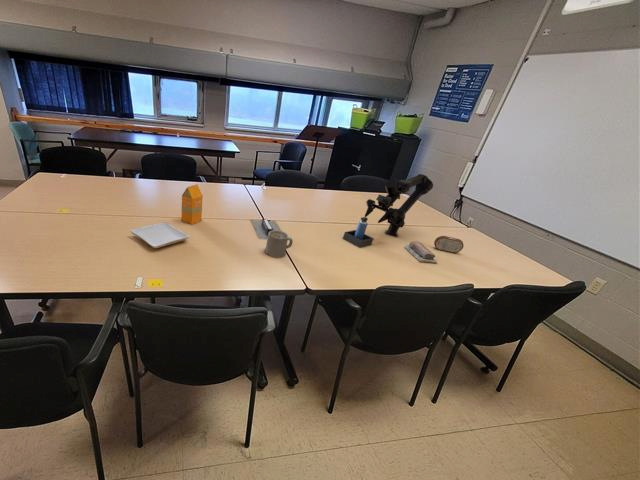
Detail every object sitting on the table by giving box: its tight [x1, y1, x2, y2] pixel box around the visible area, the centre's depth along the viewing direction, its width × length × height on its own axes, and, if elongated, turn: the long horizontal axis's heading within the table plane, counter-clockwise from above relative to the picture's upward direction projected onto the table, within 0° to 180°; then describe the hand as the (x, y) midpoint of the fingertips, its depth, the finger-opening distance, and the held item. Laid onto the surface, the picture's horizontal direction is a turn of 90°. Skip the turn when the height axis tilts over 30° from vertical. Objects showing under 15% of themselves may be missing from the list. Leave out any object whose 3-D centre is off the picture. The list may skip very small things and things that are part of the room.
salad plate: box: [129, 222, 190, 249], centre depth 156 cm, size 21×21×3 cm
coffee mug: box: [264, 230, 294, 258], centre depth 157 cm, size 13×10×10 cm
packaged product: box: [404, 240, 438, 264], centre depth 176 cm, size 18×5×10 cm
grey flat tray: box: [251, 219, 281, 239], centre depth 182 cm, size 14×25×4 cm, turn 9°
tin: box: [433, 235, 465, 254], centre depth 185 cm, size 15×3×8 cm, turn 71°
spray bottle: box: [354, 216, 369, 240], centre depth 180 cm, size 5×5×14 cm
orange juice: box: [181, 184, 204, 225], centre depth 177 cm, size 8×9×20 cm
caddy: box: [342, 229, 374, 248], centre depth 183 cm, size 11×13×4 cm
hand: (371, 219), depth 180 cm, fingers open, 9 cm apart
